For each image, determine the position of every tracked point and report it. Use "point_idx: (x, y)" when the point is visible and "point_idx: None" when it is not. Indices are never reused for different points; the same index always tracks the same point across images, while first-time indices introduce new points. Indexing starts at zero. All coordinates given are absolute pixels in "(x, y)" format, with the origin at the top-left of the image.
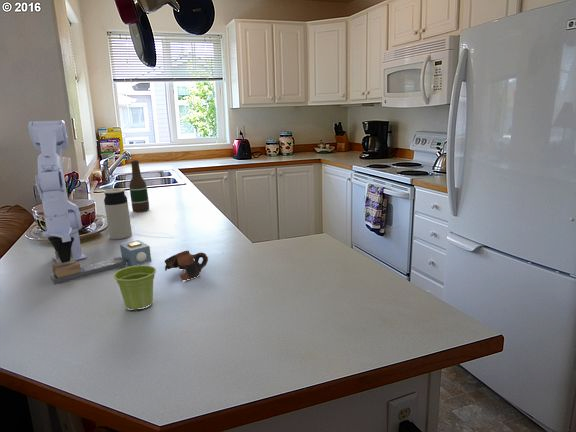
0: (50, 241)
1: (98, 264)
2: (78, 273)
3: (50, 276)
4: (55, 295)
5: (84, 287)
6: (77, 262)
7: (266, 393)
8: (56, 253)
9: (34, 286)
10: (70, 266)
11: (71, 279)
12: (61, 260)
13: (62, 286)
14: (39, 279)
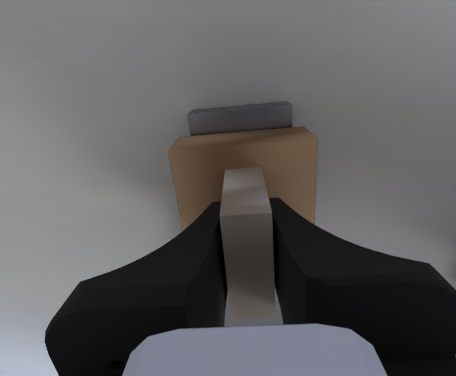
0: (303, 269)
1: None
2: None
3: (275, 105)
4: (34, 92)
5: (73, 210)
6: None
7: None
8: (219, 216)
9: (238, 6)
10: (181, 224)
11: None
12: (207, 208)
13: (141, 137)
14: (341, 46)
